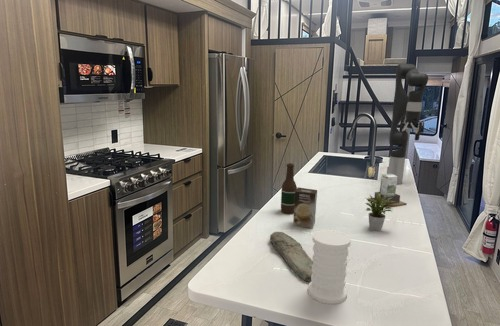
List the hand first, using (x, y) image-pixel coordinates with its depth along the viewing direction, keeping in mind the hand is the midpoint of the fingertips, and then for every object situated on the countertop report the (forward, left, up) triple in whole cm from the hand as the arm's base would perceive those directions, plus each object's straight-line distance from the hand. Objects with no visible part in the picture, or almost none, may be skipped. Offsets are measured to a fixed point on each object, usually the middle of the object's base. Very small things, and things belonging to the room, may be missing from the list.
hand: (410, 139), depth 201 cm
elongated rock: (+42, -102, -33) cm, 115 cm away
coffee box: (+18, -81, -32) cm, 89 cm away
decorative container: (+65, -104, -32) cm, 127 cm away
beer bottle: (+1, -79, -32) cm, 85 cm away
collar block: (+8, -22, -33) cm, 40 cm away
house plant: (+34, -55, -32) cm, 72 cm away
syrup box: (+9, -22, -32) cm, 40 cm away
